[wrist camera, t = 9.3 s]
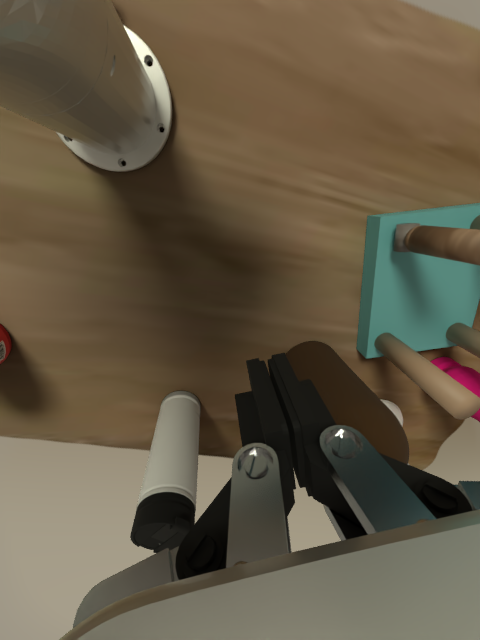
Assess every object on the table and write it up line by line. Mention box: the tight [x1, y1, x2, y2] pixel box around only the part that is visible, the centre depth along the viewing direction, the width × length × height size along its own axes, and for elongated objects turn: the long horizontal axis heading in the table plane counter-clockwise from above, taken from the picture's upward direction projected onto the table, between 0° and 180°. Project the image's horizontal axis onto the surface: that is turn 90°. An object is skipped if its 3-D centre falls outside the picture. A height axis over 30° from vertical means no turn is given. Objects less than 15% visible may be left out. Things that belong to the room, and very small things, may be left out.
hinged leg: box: [393, 223, 480, 265], centre depth 28 cm, size 3×3×14 cm
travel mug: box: [131, 391, 200, 553], centre depth 36 cm, size 6×7×20 cm
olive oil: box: [286, 341, 409, 464], centre depth 33 cm, size 11×11×25 cm
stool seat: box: [357, 203, 480, 419], centre depth 32 cm, size 20×16×17 cm
